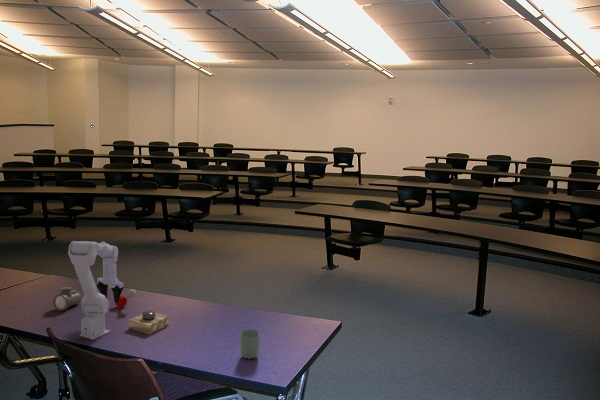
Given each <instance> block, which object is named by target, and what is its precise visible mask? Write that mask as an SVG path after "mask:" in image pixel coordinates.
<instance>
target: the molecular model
mask: <svg viewBox="0 0 600 400" xmlns="http://www.w3.org/2000/svg"><path fill="white" fill-rule="evenodd" d="M114 287H115V286H112V285H108V289H107V292H110V293H112V294H113V291H112V289H111V288H114ZM136 296H137V291H136V290H135V289H129V290H128V294H125V295H120V299H119V301H118V302H114V303H115V305H116V307H118V308H123V307H125V306H126V305H127V303H128V299H130V298H135V297H136Z"/></svg>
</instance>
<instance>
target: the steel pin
mask: <svg viewBox="0 0 600 400" xmlns="http://www.w3.org/2000/svg"><path fill="white" fill-rule="evenodd" d="M155 313H156V312H155V311H154V310H145V311H143V312H142V314H143V320H146V321H150V320H153V319H155Z"/></svg>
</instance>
